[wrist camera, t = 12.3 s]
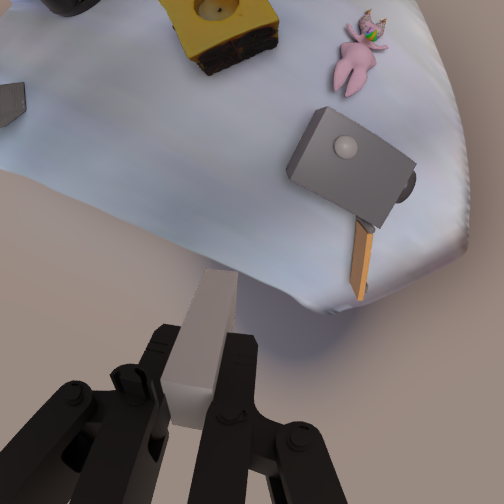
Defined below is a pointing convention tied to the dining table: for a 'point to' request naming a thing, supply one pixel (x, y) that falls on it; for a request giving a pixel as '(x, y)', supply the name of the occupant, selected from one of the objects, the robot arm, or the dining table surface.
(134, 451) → the robot arm
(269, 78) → the dining table surface
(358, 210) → the camera body
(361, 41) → the pink creature figurine
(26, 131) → the dining table surface
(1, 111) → the skincare box
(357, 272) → the side door
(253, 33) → the candle
